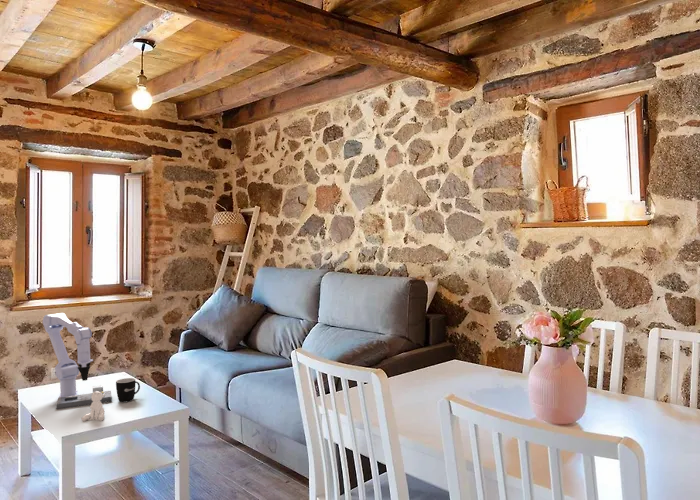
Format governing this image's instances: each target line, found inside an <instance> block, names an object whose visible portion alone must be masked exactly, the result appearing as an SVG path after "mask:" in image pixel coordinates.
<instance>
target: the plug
mask: <svg viewBox="0 0 700 500" xmlns="http://www.w3.org/2000/svg"><path fill="white" fill-rule="evenodd" d="M97 391H99V392H101V393H102V392H104V386H102V385H101V384H100V385H93V386H92V393H94V392H97Z"/></svg>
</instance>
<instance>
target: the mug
mask: <svg viewBox="0 0 700 500" xmlns="http://www.w3.org/2000/svg"><path fill="white" fill-rule="evenodd" d="M136 385H137V389H136ZM115 387H116V395H117V399H118V401H119V402H120V403H130V402H132V401H134V398H135V395H136V394H138V393H139V391H140V389H141V385H140V382H138V381H137V380H136V378H135V377H134V378H133V377H126V378H119V379H117V380H116V381H115Z"/></svg>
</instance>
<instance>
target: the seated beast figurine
mask: <svg viewBox="0 0 700 500" xmlns="http://www.w3.org/2000/svg"><path fill="white" fill-rule="evenodd" d="M92 393H93V392H92ZM104 395H105V393H104V394H102V393H101V392H99V391H97V392H94V393H93V394H92V397H91V398H92V401H93V402H92V403H91V405H89V408H90V411H89V413H86V414H84V415H83V416H82V417H81V421H82V422H86V421H87V422H88V421H99V422H102V421H103V420H104V419H105V408H104V407H103V403H101V401H100V400H102V397H104Z"/></svg>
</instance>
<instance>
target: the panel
mask: <svg viewBox="0 0 700 500" xmlns="http://www.w3.org/2000/svg"><path fill="white" fill-rule="evenodd" d="M104 393H105V395H104V397H102V400H100V401H101V403H102V404H104V403H105V404H106V403H111V402H113V401H112V398H113V397H112V390H106V391H105V390H104V391H103V392H102V394H104ZM92 394H93V392H92V393H83V394H77V395H73V396H66V397H60V396H59V397H60V398H59V397H58V398H57V401H56V410H62V409H69V408H76V407H81V406H91V403H92V402H93V401H92V398H91V397H92Z"/></svg>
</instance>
